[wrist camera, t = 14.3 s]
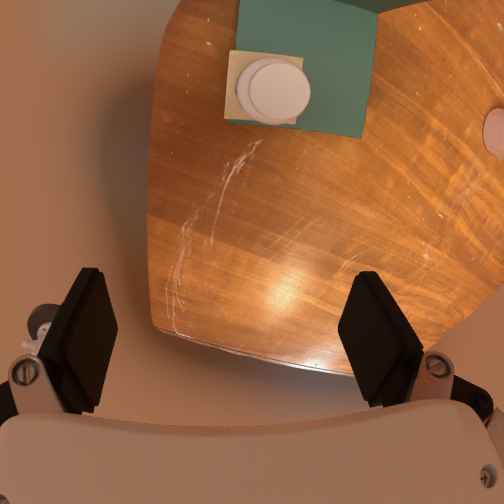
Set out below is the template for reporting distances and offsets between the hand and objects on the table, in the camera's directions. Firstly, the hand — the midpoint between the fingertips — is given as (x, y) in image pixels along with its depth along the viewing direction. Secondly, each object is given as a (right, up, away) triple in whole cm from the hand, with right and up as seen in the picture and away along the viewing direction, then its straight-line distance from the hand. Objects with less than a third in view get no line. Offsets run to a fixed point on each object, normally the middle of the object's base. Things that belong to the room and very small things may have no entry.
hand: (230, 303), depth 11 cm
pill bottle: (+2, +17, +15) cm, 23 cm away
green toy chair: (+6, +23, +16) cm, 29 cm away
